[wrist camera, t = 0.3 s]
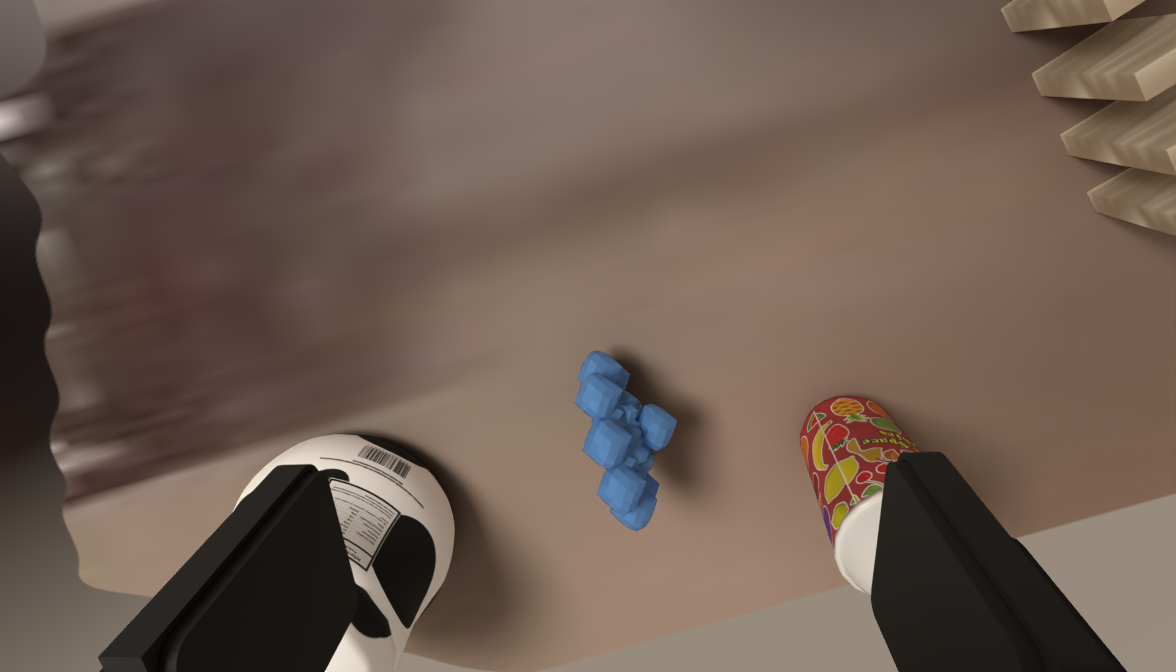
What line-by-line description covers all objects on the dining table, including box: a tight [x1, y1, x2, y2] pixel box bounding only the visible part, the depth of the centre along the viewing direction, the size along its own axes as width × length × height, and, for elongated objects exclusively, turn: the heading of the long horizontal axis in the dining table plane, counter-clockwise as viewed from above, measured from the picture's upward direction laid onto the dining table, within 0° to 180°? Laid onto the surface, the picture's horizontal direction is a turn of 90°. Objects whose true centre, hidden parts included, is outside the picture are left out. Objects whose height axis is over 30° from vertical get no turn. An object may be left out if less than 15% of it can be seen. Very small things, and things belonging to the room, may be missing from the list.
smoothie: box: [800, 396, 921, 597], centre depth 41 cm, size 8×8×20 cm
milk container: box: [233, 434, 455, 672], centre depth 48 cm, size 17×17×18 cm
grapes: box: [575, 351, 677, 531], centre depth 45 cm, size 12×7×12 cm, turn 19°
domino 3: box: [1060, 86, 1176, 175], centre depth 36 cm, size 2×5×9 cm, turn 126°
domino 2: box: [1031, 14, 1176, 101], centre depth 35 cm, size 2×5×9 cm, turn 126°
